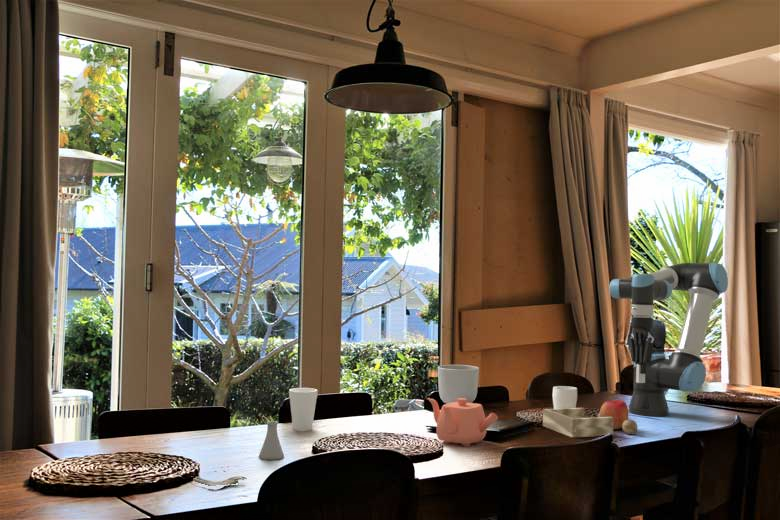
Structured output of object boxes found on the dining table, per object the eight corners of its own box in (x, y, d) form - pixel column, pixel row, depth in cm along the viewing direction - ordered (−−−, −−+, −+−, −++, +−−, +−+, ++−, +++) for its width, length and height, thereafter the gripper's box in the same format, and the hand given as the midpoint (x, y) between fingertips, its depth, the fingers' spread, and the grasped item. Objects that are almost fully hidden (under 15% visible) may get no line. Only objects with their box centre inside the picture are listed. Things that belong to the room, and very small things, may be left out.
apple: (617, 425, 277) (618, 397, 277) (633, 430, 268) (634, 402, 268) (594, 426, 274) (595, 398, 274) (610, 432, 265) (610, 403, 265)
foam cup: (321, 427, 260) (322, 389, 260) (307, 432, 252) (308, 393, 252) (297, 424, 264) (298, 387, 264) (282, 429, 256) (283, 390, 256)
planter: (433, 400, 321) (434, 364, 321) (473, 401, 323) (474, 364, 323) (440, 408, 304) (441, 369, 304) (482, 408, 306) (483, 370, 306)
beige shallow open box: (581, 424, 277) (582, 407, 277) (613, 435, 259) (613, 417, 259) (542, 426, 272) (543, 409, 272) (572, 437, 254) (572, 419, 254)
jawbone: (226, 496, 182) (225, 488, 182) (157, 486, 190) (156, 478, 190) (247, 484, 190) (247, 476, 190) (180, 475, 198) (180, 467, 198)
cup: (574, 418, 289) (575, 386, 289) (578, 422, 280) (579, 390, 280) (550, 417, 290) (551, 385, 290) (553, 421, 281) (554, 389, 281)
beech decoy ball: (631, 432, 265) (631, 417, 265) (640, 435, 260) (640, 420, 261) (619, 432, 264) (619, 418, 264) (628, 435, 259) (628, 421, 259)
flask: (259, 454, 221) (260, 419, 221) (284, 454, 221) (285, 419, 221) (257, 460, 213) (258, 424, 214) (283, 460, 214) (284, 424, 214)
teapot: (442, 449, 232) (443, 404, 232) (425, 436, 250) (426, 394, 250) (498, 448, 236) (499, 403, 236) (478, 435, 254) (479, 393, 254)
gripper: (622, 315, 280) (620, 380, 279) (644, 317, 267) (643, 385, 267) (639, 315, 282) (637, 380, 282) (662, 317, 270) (661, 385, 269)
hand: (640, 382), depth 274 cm, fingers closed
